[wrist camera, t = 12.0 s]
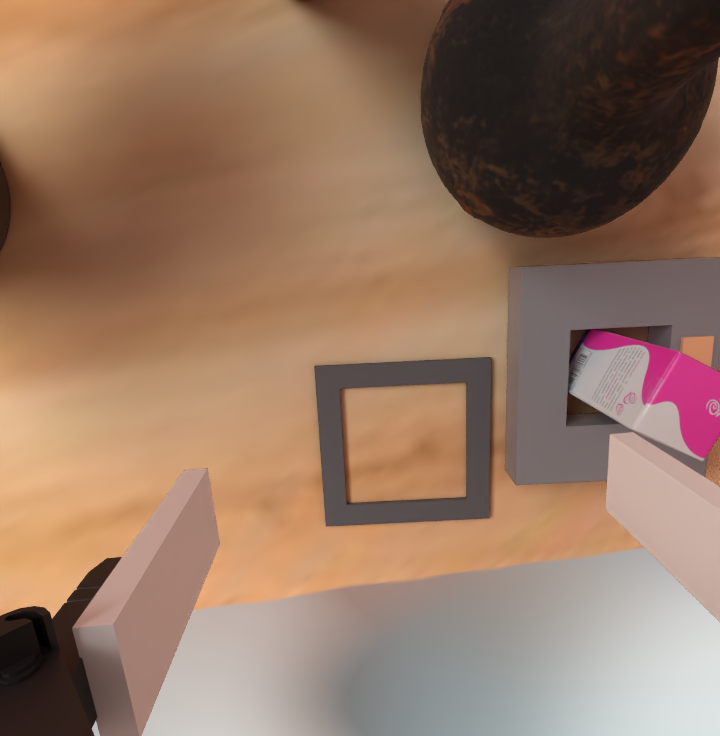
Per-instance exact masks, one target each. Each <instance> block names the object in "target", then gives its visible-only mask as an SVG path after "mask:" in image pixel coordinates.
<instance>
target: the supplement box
mask: <svg viewBox="0 0 720 736" xmlns="http://www.w3.org/2000/svg"><path fill="white" fill-rule="evenodd" d="M568 393H570V394H571V395H573V396H575V397H577V398H578V399H580V400H582V401H583V402H585V403H587V404H589V405H590V406H592V407H594V408H595V409H597V410H599V411H600V412H602V413H604V414H606V415H607V416H609V417H611V418H612V419H614V420H616V421H617V422H619V423H621V424H622V425H624V426H626V427H627V428H629V429H631V430H633V431H635V432H637V433H639V434H641V435H643V436H645V437H648V438H650V439H652V440H654V441H657V442H659V443H661V444H663V445H666V446H668V447H670V448H673V449H675V450H677V451H679V452H682V453H684V454H686V455H689V456H691V457H693V458H696V459H698V460H700V461H704V459H705V457H706V456H707V454H708V453H709V451H710V450H711V448H712V447H713V445H714V444H715V442H716V440H717V439H718V437H719V436H720V372H719V371H717V370H715V369H713V368H711V367H709V366H707V365H705V364H703V363H701V362H699V361H698V360H696V359H694V358H692V357H690V356H688V355H686V354H684V353H682V352H680V351H677V350H673V349H669V348H665V347H661V346H658V345H654V344H651V343H647V342H644V341H640V340H636V339H632V338H629V337H625V336H621V335H618V334H614V333H610V332H607V331H603V330H600V329H587V331H586V332H585V334H584V336H583V337H582V339H581V341H580V343H579V344H578V346H577V348H576V350H575V352H574V353H573V355H572V357H571V359H570V360H569V374H568Z"/></svg>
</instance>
